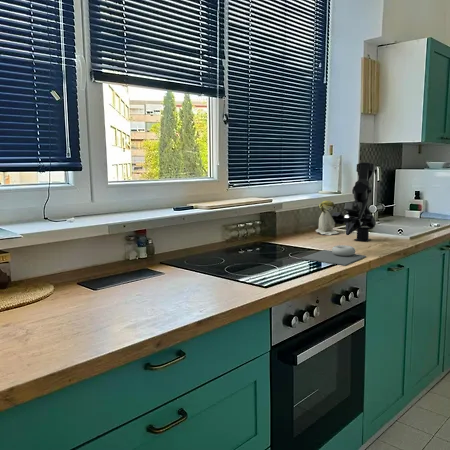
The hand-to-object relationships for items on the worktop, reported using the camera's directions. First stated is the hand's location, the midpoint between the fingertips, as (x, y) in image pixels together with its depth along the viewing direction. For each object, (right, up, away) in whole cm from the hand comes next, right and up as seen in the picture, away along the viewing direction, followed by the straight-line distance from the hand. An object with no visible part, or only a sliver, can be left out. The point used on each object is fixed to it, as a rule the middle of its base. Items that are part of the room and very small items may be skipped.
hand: (346, 234), depth 194 cm
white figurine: (+4, -1, +54) cm, 54 cm away
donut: (+1, -6, +3) cm, 7 cm away
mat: (-7, -10, -5) cm, 13 cm away
